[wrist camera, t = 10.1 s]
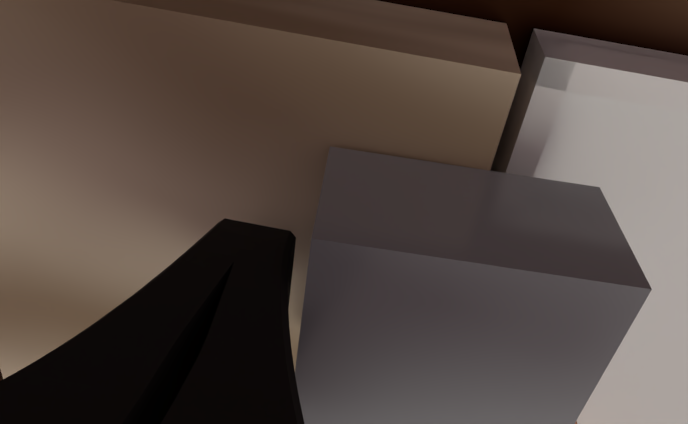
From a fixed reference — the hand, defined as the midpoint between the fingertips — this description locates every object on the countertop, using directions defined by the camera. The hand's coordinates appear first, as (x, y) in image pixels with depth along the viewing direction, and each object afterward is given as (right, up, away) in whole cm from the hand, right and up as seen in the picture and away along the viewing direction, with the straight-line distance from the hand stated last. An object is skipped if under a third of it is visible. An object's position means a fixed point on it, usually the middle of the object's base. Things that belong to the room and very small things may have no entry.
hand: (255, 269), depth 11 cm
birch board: (-1, -1, +5) cm, 5 cm away
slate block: (+3, 0, +1) cm, 3 cm away
